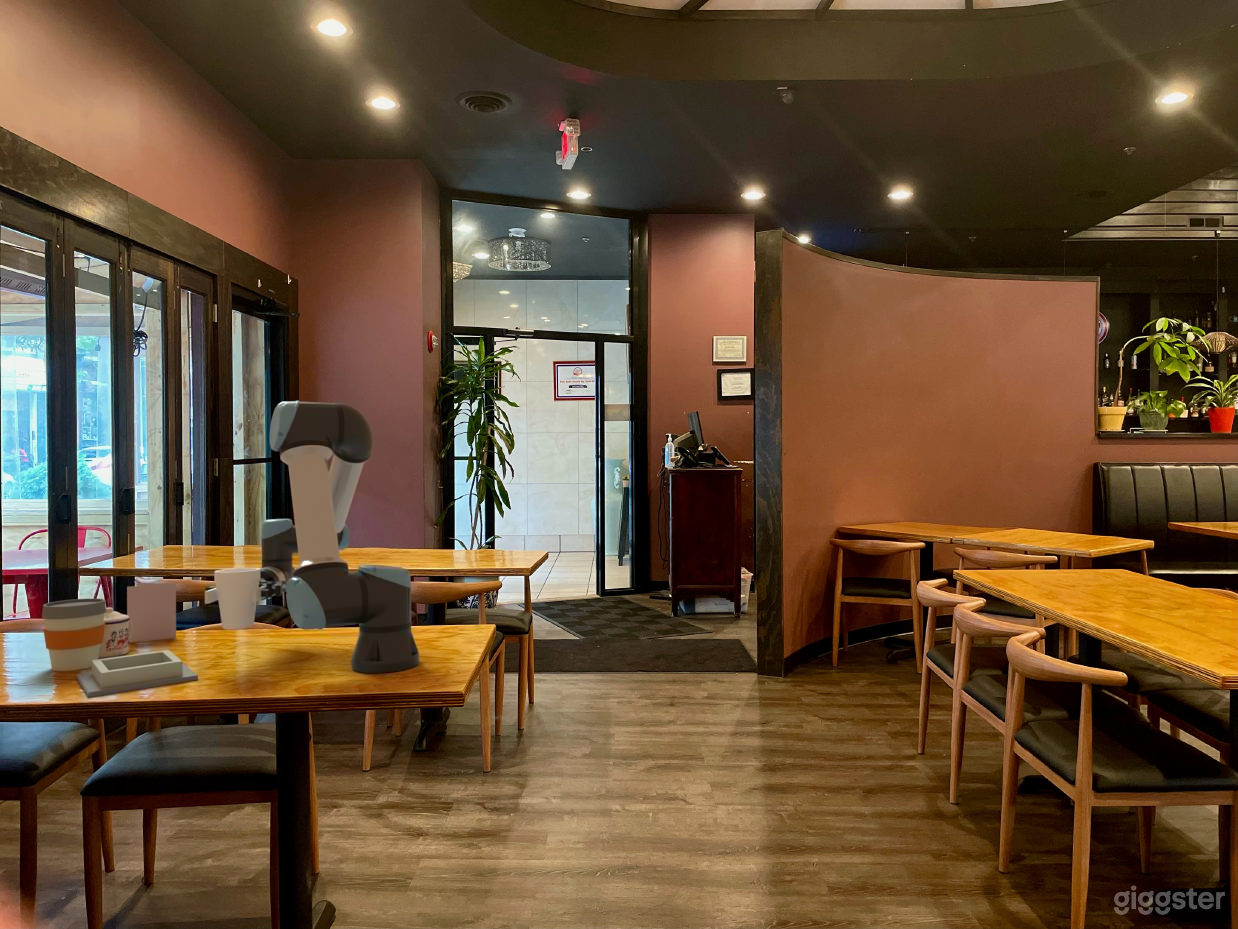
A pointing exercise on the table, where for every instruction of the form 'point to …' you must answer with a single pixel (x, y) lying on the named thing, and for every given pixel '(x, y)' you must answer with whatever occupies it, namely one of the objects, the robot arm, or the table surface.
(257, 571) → the foam cup
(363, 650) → the robot arm
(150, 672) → the tray
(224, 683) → the table surface
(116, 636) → the teacup with lid
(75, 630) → the reusable coffee cup
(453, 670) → the table surface
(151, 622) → the greeting card
